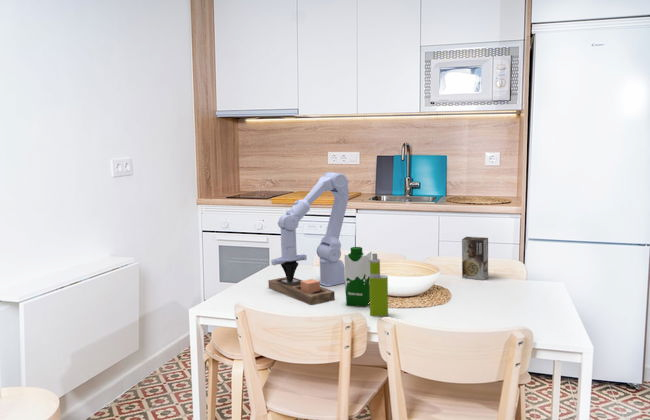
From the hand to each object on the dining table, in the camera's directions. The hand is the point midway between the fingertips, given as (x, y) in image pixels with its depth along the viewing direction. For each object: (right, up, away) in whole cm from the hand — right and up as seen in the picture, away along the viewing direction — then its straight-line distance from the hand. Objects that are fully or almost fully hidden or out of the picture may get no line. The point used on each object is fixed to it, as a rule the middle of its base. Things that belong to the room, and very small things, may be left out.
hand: (289, 281), depth 216 cm
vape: (+31, -7, -33) cm, 46 cm away
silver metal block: (0, -3, 0) cm, 3 cm away
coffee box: (+74, 0, +12) cm, 75 cm away
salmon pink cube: (+8, -2, -11) cm, 14 cm away
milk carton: (+25, -6, -20) cm, 32 cm away
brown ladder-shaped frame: (+4, -4, -5) cm, 8 cm away
